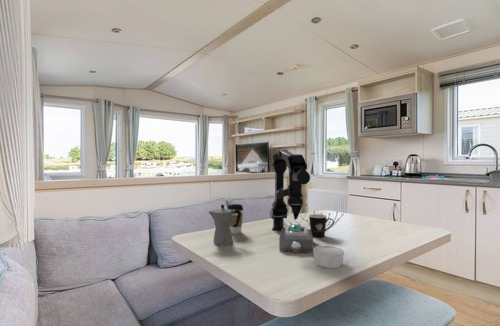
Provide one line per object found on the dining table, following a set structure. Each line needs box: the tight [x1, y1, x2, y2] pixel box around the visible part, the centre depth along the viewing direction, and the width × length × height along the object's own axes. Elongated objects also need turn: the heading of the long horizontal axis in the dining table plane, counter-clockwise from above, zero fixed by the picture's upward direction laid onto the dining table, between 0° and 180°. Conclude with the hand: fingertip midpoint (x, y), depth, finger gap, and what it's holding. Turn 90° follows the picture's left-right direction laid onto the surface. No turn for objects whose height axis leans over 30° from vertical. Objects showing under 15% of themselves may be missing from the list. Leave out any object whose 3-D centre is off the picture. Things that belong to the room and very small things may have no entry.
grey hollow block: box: [278, 225, 314, 253], centre depth 121 cm, size 18×14×7 cm
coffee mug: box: [308, 213, 335, 239], centre depth 135 cm, size 12×9×10 cm
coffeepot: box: [208, 204, 241, 246], centre depth 128 cm, size 15×9×18 cm, turn 92°
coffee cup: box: [227, 203, 244, 235], centre depth 144 cm, size 8×8×15 cm
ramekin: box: [312, 244, 345, 269], centre depth 101 cm, size 11×11×5 cm
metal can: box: [289, 223, 302, 231], centre depth 121 cm, size 5×5×8 cm
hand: (295, 216), depth 122 cm, fingers open, 9 cm apart
